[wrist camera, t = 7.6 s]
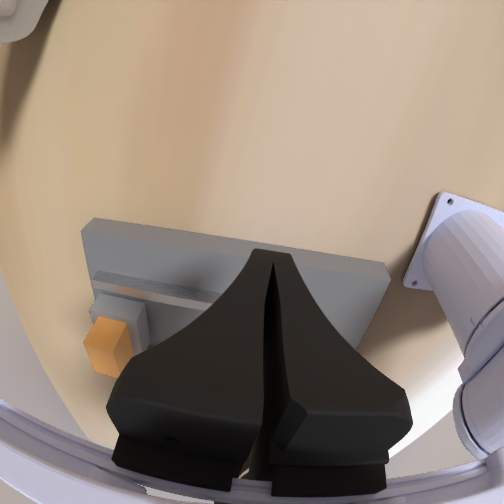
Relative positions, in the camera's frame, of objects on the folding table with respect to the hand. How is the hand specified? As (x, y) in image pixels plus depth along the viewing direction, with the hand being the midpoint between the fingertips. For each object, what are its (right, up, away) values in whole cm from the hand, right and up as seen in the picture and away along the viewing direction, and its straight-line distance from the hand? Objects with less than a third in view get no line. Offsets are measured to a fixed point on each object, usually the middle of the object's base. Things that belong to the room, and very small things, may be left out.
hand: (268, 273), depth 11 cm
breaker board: (-3, -5, +14) cm, 15 cm away
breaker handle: (-11, -5, +12) cm, 17 cm away
